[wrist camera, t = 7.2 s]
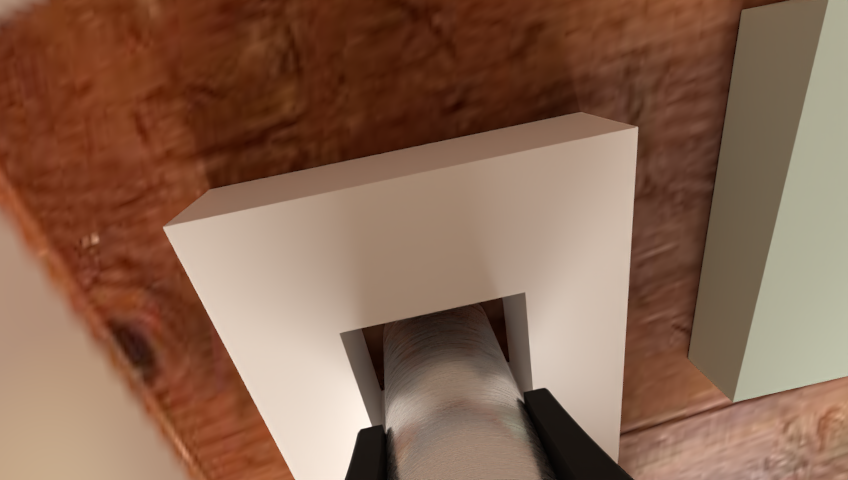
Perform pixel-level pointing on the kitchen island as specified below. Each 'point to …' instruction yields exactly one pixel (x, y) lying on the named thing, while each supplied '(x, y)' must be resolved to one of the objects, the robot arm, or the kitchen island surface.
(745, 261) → the socket block
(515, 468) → the steel peg
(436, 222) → the cream square-hole board
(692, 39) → the kitchen island surface
